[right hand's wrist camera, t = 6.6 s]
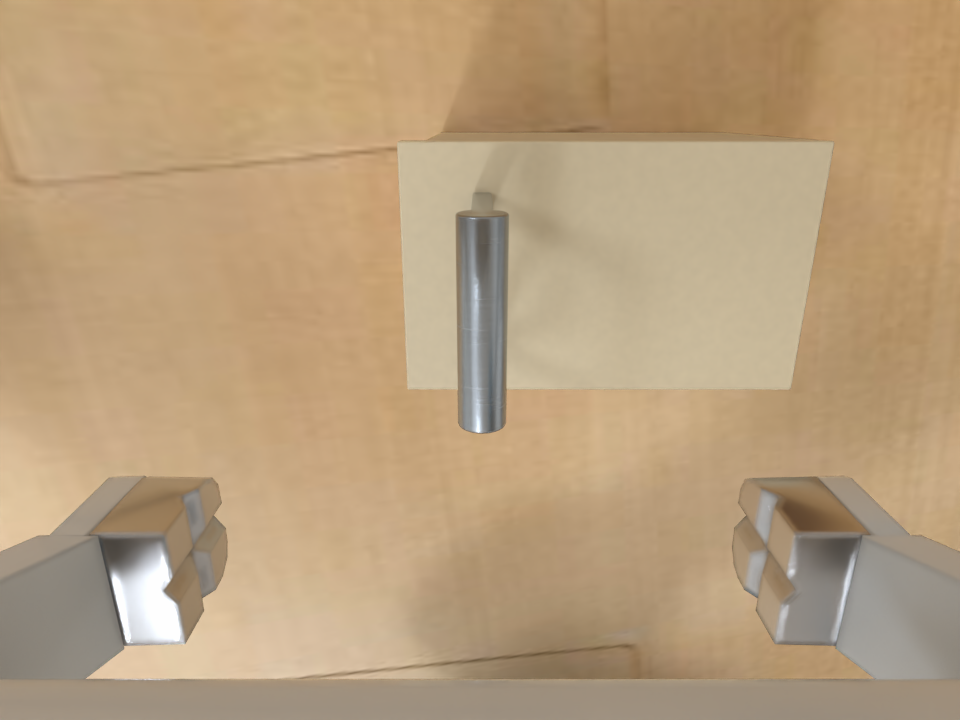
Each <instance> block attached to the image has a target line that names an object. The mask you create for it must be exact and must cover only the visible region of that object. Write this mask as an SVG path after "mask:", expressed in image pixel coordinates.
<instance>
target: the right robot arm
mask: <svg viewBox="0 0 960 720" xmlns="http://www.w3.org/2000/svg"><path fill="white" fill-rule="evenodd" d="M221 503H222V502H221V497H220V492H219V487H218V484H217V483H216V481H215V480H214V479H213V478H200V477H146V476H120V477H111V478H108V479H107V480H106V481H105V482H104V483H103V484H102V485H101V486H100V487H99V488H98V489H97V490H96V491H95V492H94V493H93V494H92V495H91V496H90V497H89V498H88V499H87V500H86V501H85V502H83V503H82V504H81V505H80V506H79V507H78V508H77V509H76V510H75V511H74V512H73V513H72V514H71V515H70V516H69V517H68V518H67V519H66V520H65V521H64V522H63V523H62V524H61V525H60V526H59V527H58V528H57V529H56V530H54V531H53V532H52V533H51V534H50V535H45V536H36V537H34V538H32V539H29V540H27V541H25V542H22V543H20V544H18V545H15V546H13V547H11V548H8V549H6V550H4V551H1V552H0V720H960V552H959V551H956V550H954V549H952V548H949V547H947V546H945V545H942V544H940V543H938V542H935V541H933V540H931V539H928V538H926V537H924V536H915V535H910V534H909V533H908V532H907V531H906V530H905V529H904V528H902V527H901V526H900V525H899V524H898V523H897V522H896V521H895V520H894V519H893V518H892V517H891V516H890V515H889V514H888V513H887V512H886V511H885V510H884V509H883V508H882V507H881V506H880V505H879V504H878V503H877V502H876V501H875V500H874V499H873V498H872V497H870V496H869V495H868V494H867V493H866V492H865V491H864V490H863V489H862V488H861V487H860V486H859V485H858V484H857V483H856V482H855V481H854V480H853V479H852V478H849V477H846V476H825V477H783V478H751V479H745V481H744V483H743V485H742V487H741V490H740V496H739V502H738V503H739V505H740V506H741V508H742V509H743V511H744V513H745V514H746V516H745V517H744V518H743V520H742V521H741V522H740V523H739V524H738V525H737V526H736V527H735V528H734V535H733V544H732V551H733V561H734V567H735V570H736V573H737V576H738V579H739V581H740V583H741V584H742V586H743V588H744V590H746V591H747V592H749V593H750V594H752V595H754V596H755V597H757V598H758V601H757V607H756V612H757V613H758V615H759V617H760V619H761V621H762V622H763V624H764V626H765V628H766V629H767V631H768V633H769V635H770V636H771V638H772V640H773V642H774V644H790V645H827V646H836V649H837V650H838V651H839V652H841V653H842V654H843V655H845V656H846V657H847V658H849V659H850V660H851V661H852V662H854V663H855V664H856V665H858V666H859V667H860V668H862V669H863V670H864V671H865V672H867V673H868V674H869V675H871V676H872V677H873V678H875V679H86V678H87V677H88V676H90V675H91V674H92V673H93V672H95V671H96V670H97V669H99V668H100V667H101V666H103V665H104V664H105V663H106V662H108V661H109V660H110V659H112V658H113V657H114V656H116V655H117V654H118V653H119V652H121V651H122V650H123V649H124V646H133V645H168V644H186V642H187V640H188V638H189V637H190V635H191V633H192V631H193V629H194V628H195V626H196V624H197V622H198V621H199V619H200V617H201V615H202V614H203V612H204V607H203V601H202V598H203V597H205V596H206V595H208V594H210V593H211V592H213V591H214V590H216V588H217V586H218V584H219V583H220V581H221V579H222V577H223V574H224V569H225V565H226V561H227V547H228V541H227V534H226V528H225V527H224V526H223V525H222V524H221V523H220V522H219V521H218V520H217V518H216V517H215V516H214V514H215V513H216V511H217V509H218V508H219V506H220V505H221Z"/></svg>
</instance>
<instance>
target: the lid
mask: <svg viewBox="0 0 960 720" xmlns="http://www.w3.org/2000/svg"><path fill="white" fill-rule="evenodd" d="M833 148H834V142H833V141H825V140H401V141H399V142H397V153H398V177H399V201H400V225H401V248H402V272H403V296H404V320H405V344H406V367H407V388H408V389H458V423H459V426H460V427H461V428H462V429H464V430H466V431H469V432H473V433H491V432H495V431H498V430H500V429H502V428H503V427H504V426H505V424H506V392H507V389H714V390H789V389H791V385H792V379H793V374H794V368H795V363H796V357H797V351H798V346H799V340H800V334H801V329H802V323H803V317H804V312H805V306H806V300H807V295H808V289H809V283H810V278H811V272H812V267H813V261H814V255H815V250H816V244H817V238H818V233H819V227H820V221H821V216H822V210H823V204H824V199H825V193H826V187H827V182H828V176H829V171H830V165H831V159H832V154H833Z"/></svg>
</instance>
